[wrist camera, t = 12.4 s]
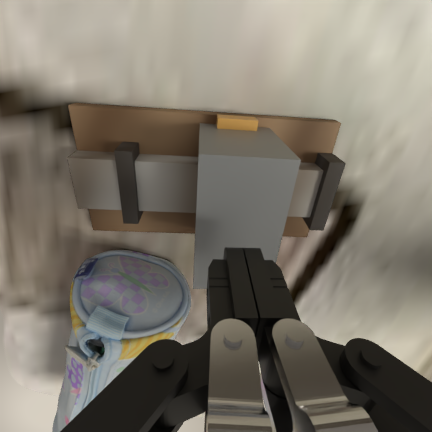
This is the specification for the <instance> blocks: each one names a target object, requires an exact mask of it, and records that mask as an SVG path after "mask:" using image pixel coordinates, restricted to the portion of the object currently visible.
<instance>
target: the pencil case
mask: <svg viewBox="0 0 432 432" xmlns="http://www.w3.org/2000/svg"><path fill="white" fill-rule="evenodd" d="M190 307H191V294H190V290H189V286H188V283H187V281H186V279H185V277H184V276H183V274H182V273H181V272H180V271H179V269H178V268H177V267H176V266H175V265H173V264H172V263H171V262H169V261H167V260H164V259H162V258H158V257H155V256H151V255H148V254H144V253H140V252H135V251H129V250H111V251H106V252H102V253H99V254H97V255H95V256H93V257H91V258H88V259H86V260H85V261H84V262H83V263H82V265H81V266H80V267H79V269H78V270H77V272H76V273H75V276H74V278H73V281H72V285H71V290H70V312H71V319H72V330H71V334H70V339H69V344H68V345H66V346H65V349H66V351H67V358H66V372H65V376H64V380H63V384H62V388H61V392H60V395H59V400H58V408H57V413H56V416H55V419H54V423H53V432H60V431H61V430H62V429H63V428H64V427H65V426H66V425H67V424H68V423H69V422H70V421H71V420H73V419H74V418H75V417H76V416H77V415H78V414H79V413H80V412H81V411H82V410H83V409H84V408H85V407H86V406H87V405H88V404H89V403H90V402H91V401H92V400H93V399H94V398H95V397H96V396H97V395H98V394H99V393H100V392H101V391H102V390H103V389H104V388H105V387H106V386H107V385H108V384H109V383H110V382H111V381H112V380H113V379H114V378H115V377H116V376H117V375H119V374H120V373H121V372H122V371H123V370H124V369H125V368H126V367H127V366H128V365H129V364H130V363H131V362H132V361H133V360H134V359H135V358H136V357H137V356H138V355H139V354H140V353H141V352H142V351H143V350H144V349H145V348H146V347H147V346H148V345H150V344H151V343H153V342H155V341H158V340H161V339H171V340H174V338H175V337H176V335H177V333H178V332H179V330H180V328H181V326H182V325H183V323H184V322H185V320H186V318H187V316H188V313H189V311H190Z"/></svg>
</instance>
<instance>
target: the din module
mask: <svg viewBox="0 0 432 432" xmlns="http://www.w3.org/2000/svg"><path fill="white" fill-rule="evenodd" d="M300 162H301V160H300V159H299V157H298V156H297V155H296V154H295V153H294V152H293V151H292V150H291V149H290V148H289V147H288V146H287V145H286V144H285V143H284V142H283V141H282V140H281V139H280V138H279V137H278V136H277V135H276V134H275V133H274V132H273V131H272V130H271V129H270V128H264V127H258V120H257V119H256V118H255V117H248V116H234V115H220V114H217V122H216V124H205V123H200V130H199V155H198V179H197V204H196V227H195V253H194V278H193V289H207V279H208V267H209V266H210V264H211V262H212V260H213V259H223V257H224V249H225V247H234V248H260V249H261V251H262V254H263V257H264V260H273V261H274V262H275V263H276V260H277V256H278V252H279V248H280V244H281V240H282V235H283V231H284V227H285V223H286V219H287V215H288V211H289V207H290V203H291V199H292V195H293V191H294V186H295V182H296V178H297V174H298V170H299V166H300Z"/></svg>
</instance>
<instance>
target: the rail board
mask: <svg viewBox="0 0 432 432" xmlns="http://www.w3.org/2000/svg"><path fill="white" fill-rule="evenodd" d="M68 107H69V112H70V117H71V122H72V127H73V132H74V137H75V142H76V147H77V151H76V152H74V153H73V154H72V155H70V156H69V157H68V158H67V160H68V164H69V169H70V173H71V178H72V182H73V187H74V191H75V196H76V200H77V205H78V209H89V212H90V217H91V222H92V227H93V230H104V231H135V232H166V233H195V227H196V204H197V179H198V155H199V130H200V123H205V124H216V122H217V114H220V115H234V116H248V117H255V118H256V119H257V120H258V127H264V128H270V129H271V130H272V131H273V132H274V133H275V134H276V135H277V136H278V137H279V138H280V139H281V140H282V141H283V142H284V143H285V144H286V145H287V146H288V147H289V148H290V149H291V150H292V151H293V152H294V153H295V154H296V155H297V156H298V157H299V159H300V160H301V162H300V166H299V170H298V174H297V178H296V182H295V186H294V191H293V195H292V199H291V203H290V207H289V211H288V215H287V219H286V223H285V227H284V231H283V235H282V236H290V237H307V235H308V232H309V229H310V230H324V227H325V224H326V221H327V218H328V215H329V212H330V209H331V206H332V203H333V200H334V197H335V194H336V191H337V188H338V185H339V182H340V179H341V176H342V173H343V170H344V167H345V164H346V163H344V162H343V161H342V160H340V159H339V158H338V157H336V156H335V155H333V154H332V152H333V148H334V145H335V142H336V138H337V135H338V132H339V128H340V125H341V123H340V122H338V121H335V120H326V119H311V118H296V117H281V116H266V115H251V114H236V113H221V112H206V111H191V110H176V109H161V108H146V107H131V106H116V105H101V104H86V103H73V104H70V105H68Z"/></svg>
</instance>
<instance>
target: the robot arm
mask: <svg viewBox="0 0 432 432" xmlns="http://www.w3.org/2000/svg"><path fill="white" fill-rule="evenodd" d="M207 324H208V330H207V332H206V333H205V334H204V335H203V336H202V337H201V338H200V339H198V340H196V341H194V342H191V343H188V344H185V345H181V344H180V343H179V342H177V341H175V340H171V339H161V340H158V341H155V342H153V343H151V344H150V345H148V346H147V347H146V348H145V349H144V350H143V351H142V352H141V353H140V354H139V355H138V356H137V357H136V358H135V359H134V360H133V361H132V362H131V363H130V364H129V365H128V366H127V367H126V368H125V369H124V370H123V371H122V372H121V373H120V374H119V375H117V376H116V377H115V378H114V379H113V380H112V381H111V382H110V383H109V384H108V385H107V386H106V387H105V388H104V389H103V390H102V391H101V392H100V393H99V394H98V395H97V396H96V397H95V398H94V399H93V400H92V401H91V402H90V403H89V404H88V405H87V406H86V407H85V408H84V409H83V410H82V411H81V412H80V413H79V414H78V415H77V416H76V417H75V418H74V419H73V420H71V421H70V422H69V423H68V424H67V425H66V426H65V427H64V428H63V429H62V430H61V431H60V432H177V431H178V430H179V428H180V427H181V425H182V424H183V422H184V421H186V420H188V419H190V418H193V417H195V416H197V415H199V414H201V413H204V412H205V425H204V432H432V382H430V381H429V380H427V379H426V378H424V377H423V376H422V375H420V374H419V373H417V372H416V371H414V370H413V369H412V368H410V367H409V366H407V365H406V364H404V363H403V362H402V361H400V360H399V359H397V358H396V357H394V356H393V355H392V354H390V353H389V352H387V351H386V350H384V349H383V348H381V347H380V346H379V345H377V344H375V343H373V342H371V341H369V340H366V339H361V338H355V339H352V340H350V341H349V342H348V343H347V344H346V346H343V345H340V344H336V343H333V342H330V341H326V340H323V339H321V338H319V337H317V336H315V335H314V333H313V331H312V330H311V329H310V328H309V327H308V326H307V325H305V324H304V323H302V322H301V320H300V318H299V315H298V313H297V310H296V307H295V305H294V302H293V300H292V297H291V295H290V292H289V289H288V288H287V284H286V282H285V280H284V276H283V274H282V271H281V269H280V268H279V267H278V265H277V264H276V263H275V262H274V261H273V260H264V257H263V254H262V251H261V249H260V248H234V247H225V249H224V257H223V259H213V260H212V262H211V264H210V266H209V267H208V279H207ZM258 361H259V363H260V368H261V373H260V372H259V364H258ZM263 400H264V404H265V408H266V411H265V408H264V404H263Z"/></svg>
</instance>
